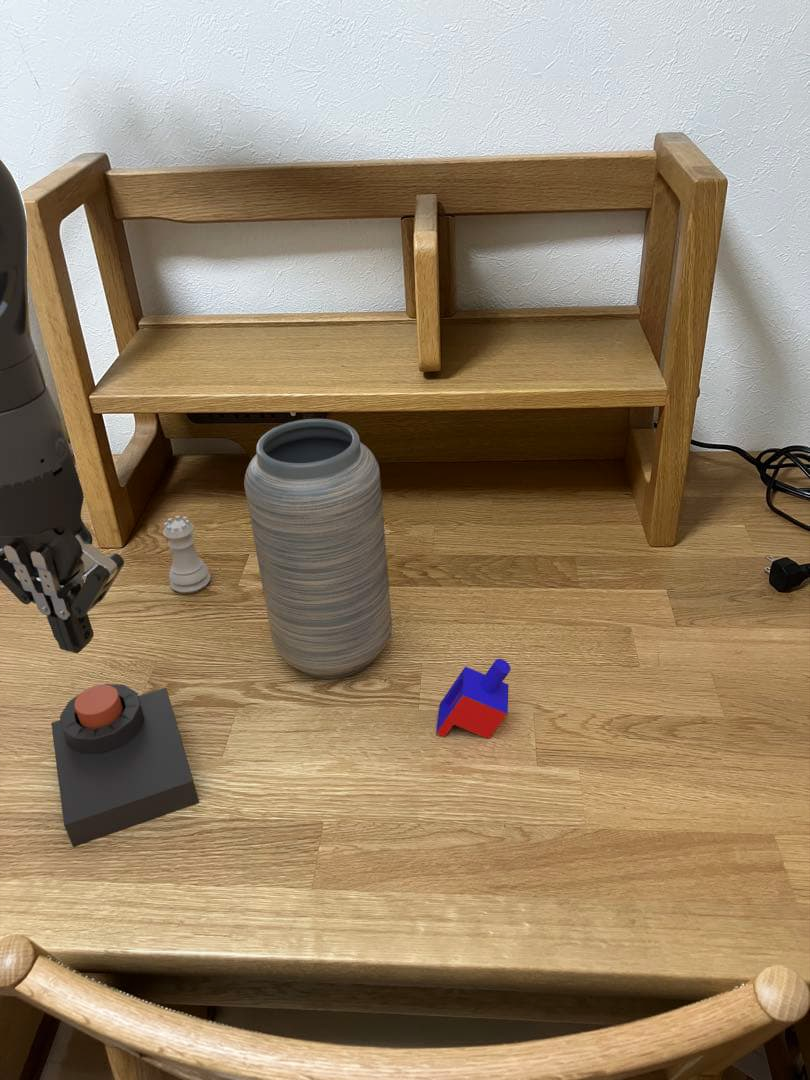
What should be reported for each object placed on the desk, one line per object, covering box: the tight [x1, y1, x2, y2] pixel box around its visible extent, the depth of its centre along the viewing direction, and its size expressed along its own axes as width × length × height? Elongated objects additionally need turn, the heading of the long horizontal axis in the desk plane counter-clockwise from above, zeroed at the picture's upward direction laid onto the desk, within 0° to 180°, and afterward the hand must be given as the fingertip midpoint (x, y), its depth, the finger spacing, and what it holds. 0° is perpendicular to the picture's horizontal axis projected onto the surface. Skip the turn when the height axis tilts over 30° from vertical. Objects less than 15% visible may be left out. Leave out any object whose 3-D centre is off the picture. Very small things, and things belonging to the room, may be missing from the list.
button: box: [74, 684, 123, 729], centre depth 76 cm, size 4×4×2 cm
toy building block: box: [435, 658, 512, 740], centre depth 77 cm, size 4×4×8 cm
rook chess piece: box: [162, 515, 212, 595], centre depth 96 cm, size 4×4×8 cm
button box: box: [51, 683, 200, 848], centre depth 75 cm, size 13×10×4 cm
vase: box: [243, 418, 393, 680], centre depth 81 cm, size 12×12×23 cm
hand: (77, 645), depth 72 cm, fingers closed
